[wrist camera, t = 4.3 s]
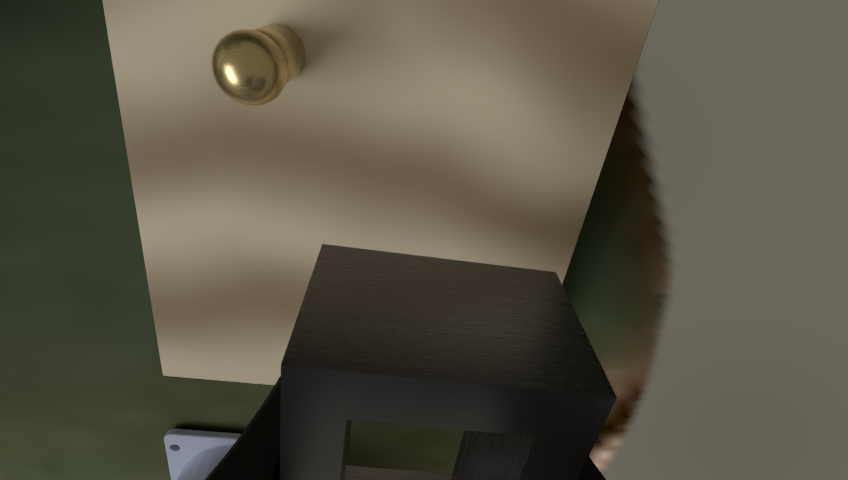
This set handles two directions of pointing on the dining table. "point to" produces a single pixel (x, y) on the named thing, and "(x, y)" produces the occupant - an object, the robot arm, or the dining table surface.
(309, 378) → the dark grey open box
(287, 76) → the brass knob
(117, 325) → the dining table surface
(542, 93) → the birch board
